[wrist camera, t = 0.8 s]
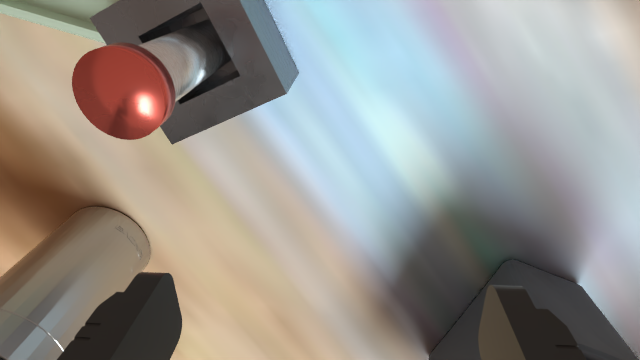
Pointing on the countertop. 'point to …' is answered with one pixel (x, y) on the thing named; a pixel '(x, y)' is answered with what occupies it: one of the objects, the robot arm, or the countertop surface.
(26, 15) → the dish
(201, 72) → the pin
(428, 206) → the countertop surface
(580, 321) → the storage bin
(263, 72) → the block
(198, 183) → the countertop surface
